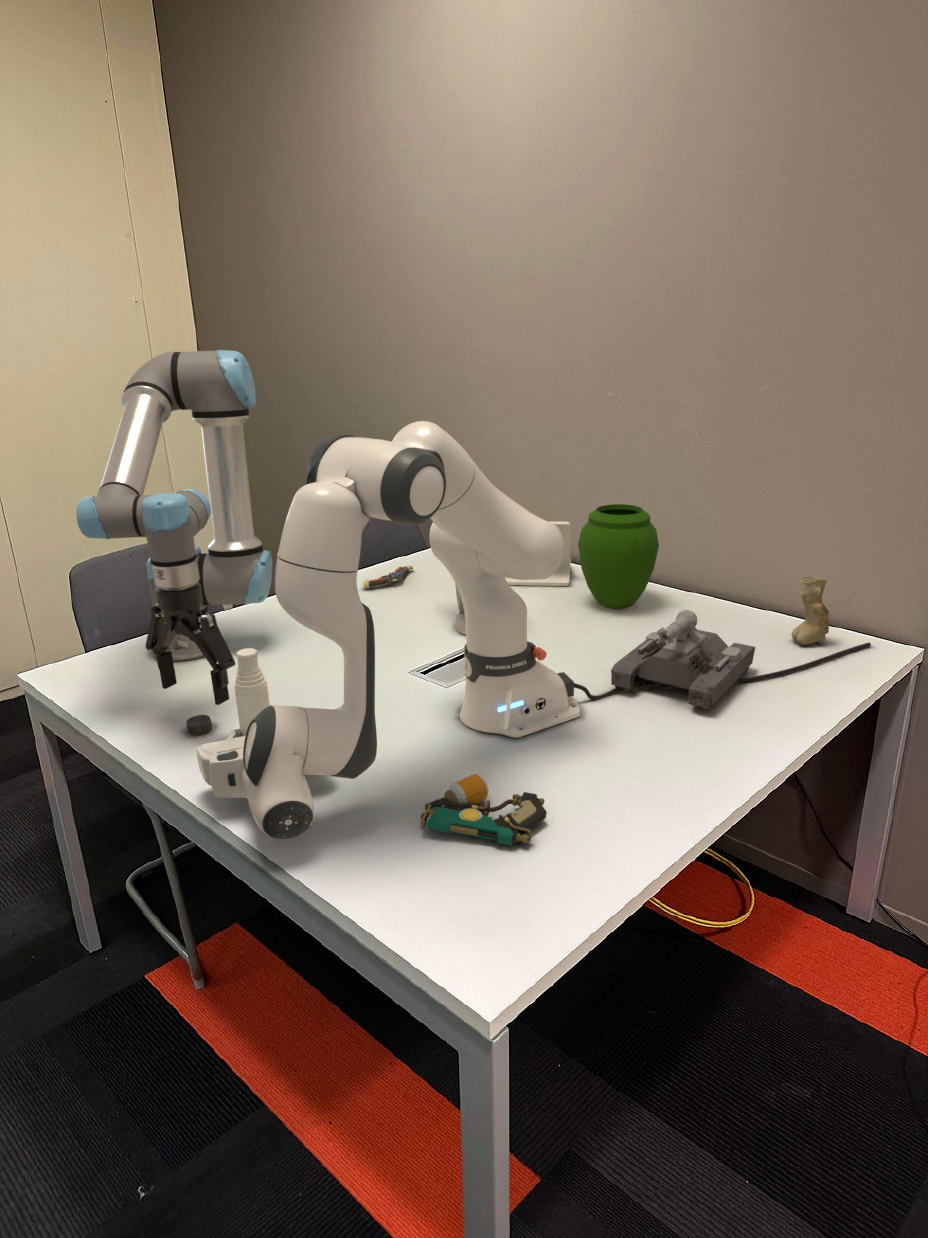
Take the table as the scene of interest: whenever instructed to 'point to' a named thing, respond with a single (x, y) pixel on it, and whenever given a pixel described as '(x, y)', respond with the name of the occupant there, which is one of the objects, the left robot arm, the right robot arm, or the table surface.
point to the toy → (685, 662)
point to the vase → (618, 554)
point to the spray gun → (482, 813)
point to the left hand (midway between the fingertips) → (195, 693)
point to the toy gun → (388, 577)
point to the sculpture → (812, 612)
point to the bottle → (249, 688)
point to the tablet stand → (563, 572)
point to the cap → (199, 725)
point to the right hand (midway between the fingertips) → (255, 729)
